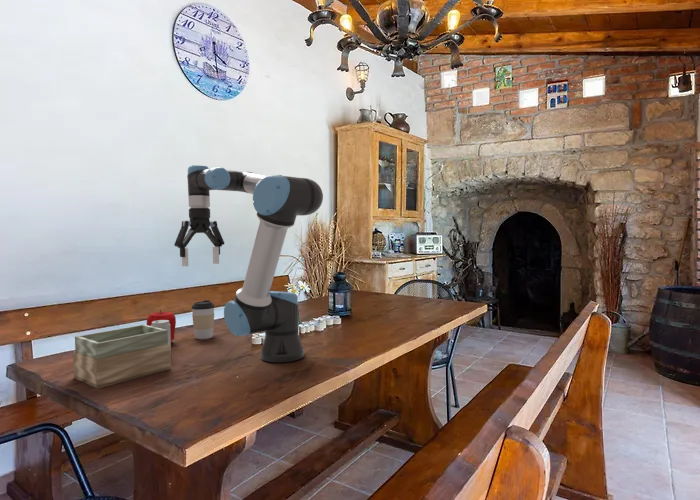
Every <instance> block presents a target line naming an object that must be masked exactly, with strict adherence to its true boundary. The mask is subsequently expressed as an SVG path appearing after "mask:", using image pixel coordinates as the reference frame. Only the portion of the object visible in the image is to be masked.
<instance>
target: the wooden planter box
mask: <svg viewBox="0 0 700 500" xmlns="http://www.w3.org/2000/svg"><path fill="white" fill-rule="evenodd" d="M171 352H172V351H171ZM171 352H170V344H168V330H165V329H161V328H157V327H152V326H148V325H147V324H139V325H133V326H127V327H122V328H117V329H115V328H114V329H110V330H103V331H99V332H98V331H97V332H93V333H87V334H83V335H76V336H74V351H72V360H73V361H72V364H73V365H72V366H73V378H74V379H75V380H77V381H80V382H82V383H83V384H84V383H85V385H88V386H90V387H93V388H95V389H97V390H98V389H102V388H106V387H110V386H113V385H117V384H121V383H124V382H128V381H132V380H136V379H138V378H139V379H140V378H142V377H147V376H151V375H153V374H157V373H161V372H165V371H169V370H171V369H172V362H171V361H172V359H171V357H172V355H171Z"/></svg>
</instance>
